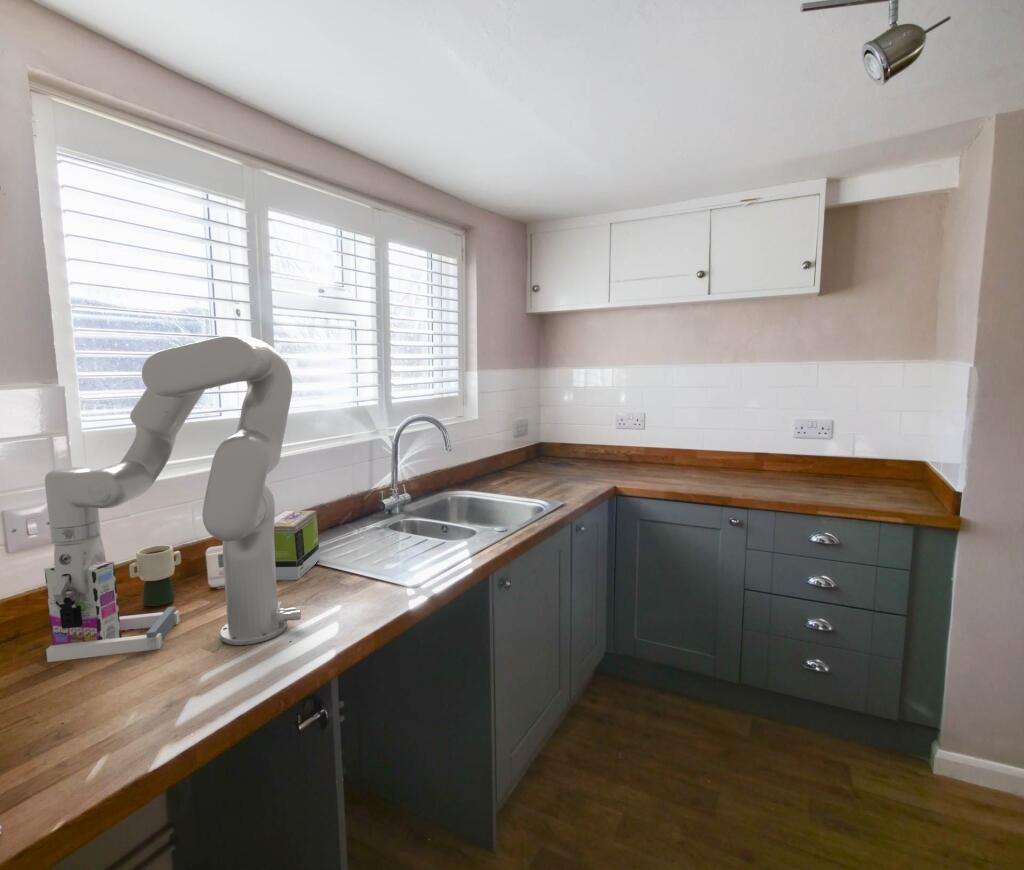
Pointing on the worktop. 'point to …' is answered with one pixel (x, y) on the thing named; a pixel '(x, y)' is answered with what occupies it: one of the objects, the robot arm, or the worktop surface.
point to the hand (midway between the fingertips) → (85, 616)
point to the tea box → (295, 543)
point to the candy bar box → (88, 607)
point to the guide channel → (152, 640)
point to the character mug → (156, 573)
